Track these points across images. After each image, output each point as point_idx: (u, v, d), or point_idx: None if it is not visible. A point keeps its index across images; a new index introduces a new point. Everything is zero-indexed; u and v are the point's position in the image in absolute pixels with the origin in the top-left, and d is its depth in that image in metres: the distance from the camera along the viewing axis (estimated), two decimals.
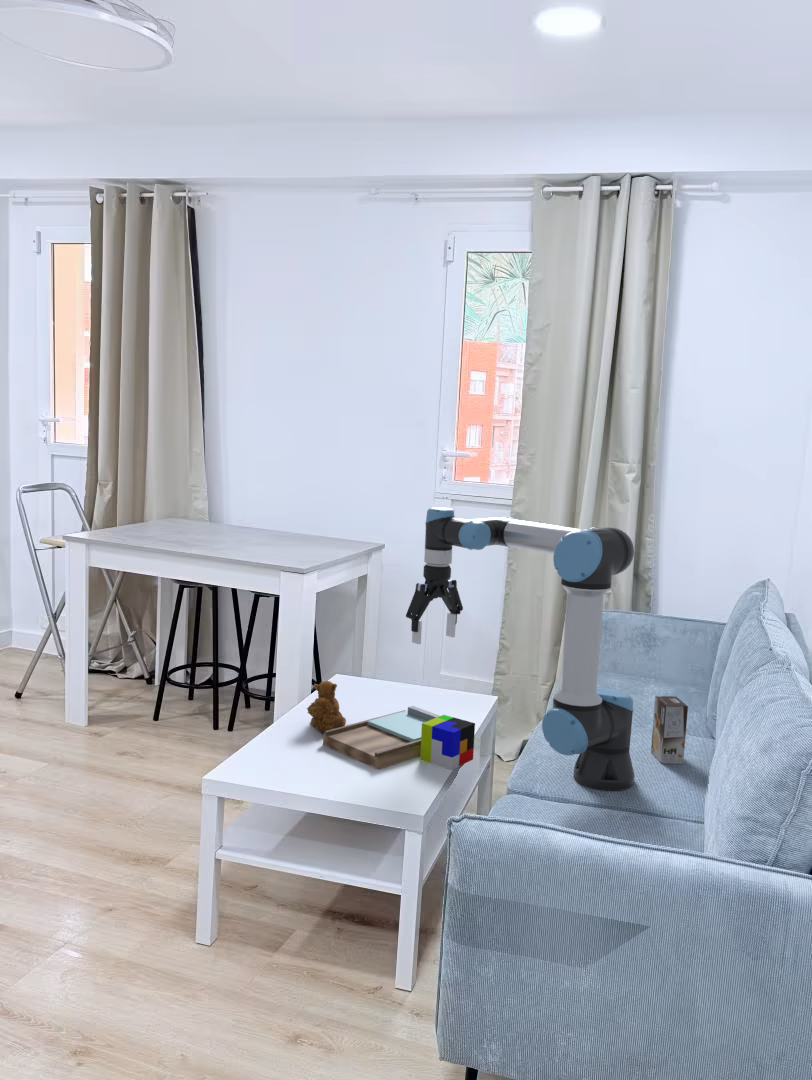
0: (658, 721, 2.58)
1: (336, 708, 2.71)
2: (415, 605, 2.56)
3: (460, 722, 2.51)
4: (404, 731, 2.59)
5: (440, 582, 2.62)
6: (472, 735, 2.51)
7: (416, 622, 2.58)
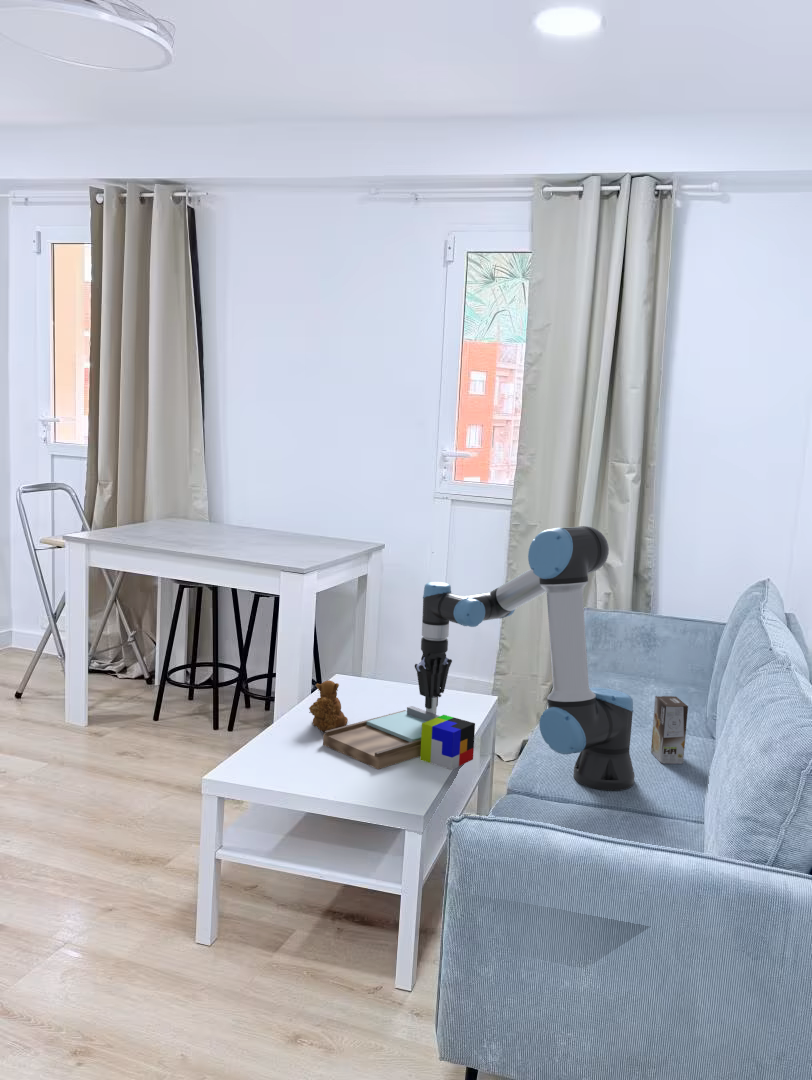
0: (658, 720, 2.58)
1: (338, 708, 2.71)
2: (423, 685, 2.66)
3: (460, 722, 2.51)
4: (403, 731, 2.59)
5: (437, 655, 2.68)
6: (472, 735, 2.51)
7: (430, 699, 2.68)
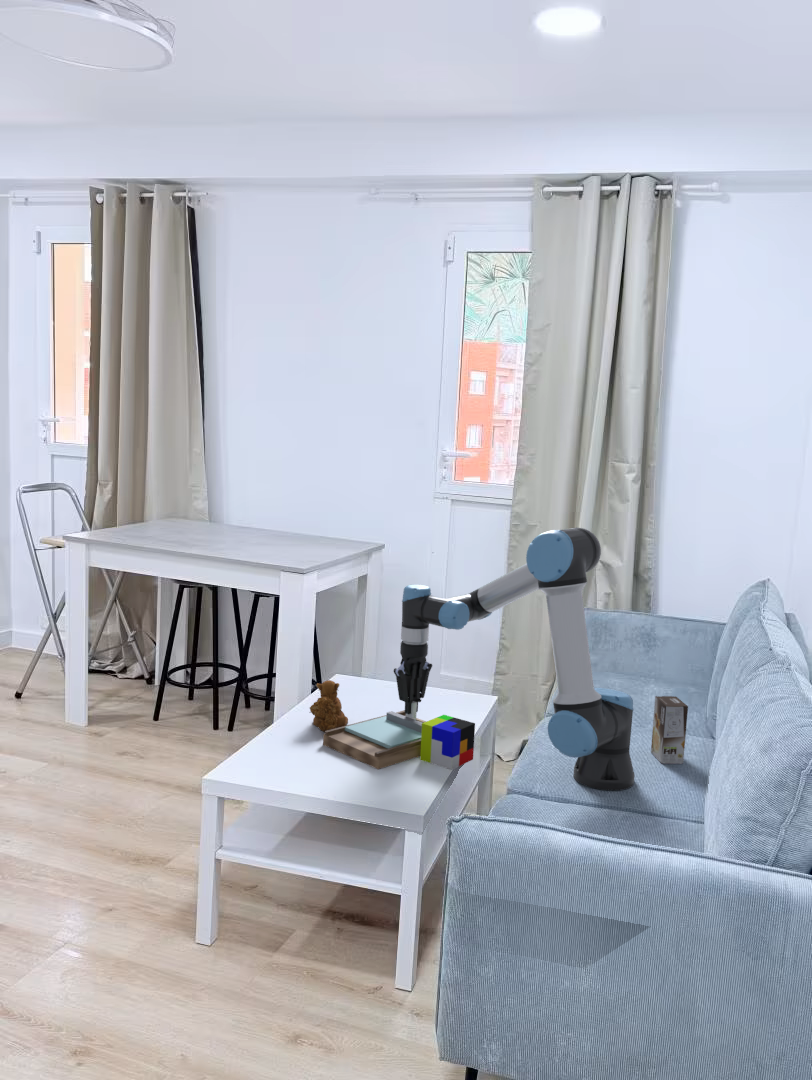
0: (658, 721, 2.58)
1: (338, 707, 2.71)
2: (402, 690, 2.60)
3: (460, 722, 2.51)
4: (381, 737, 2.53)
5: (417, 659, 2.62)
6: (472, 735, 2.51)
7: (409, 704, 2.63)
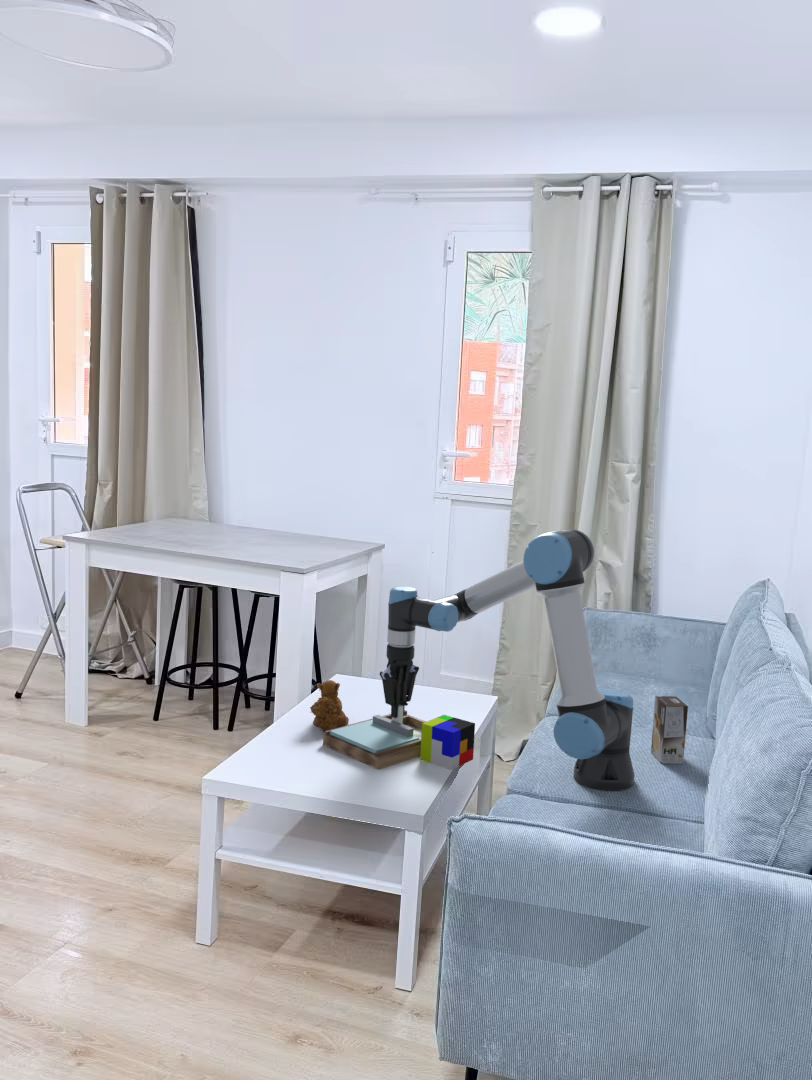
0: (658, 721, 2.58)
1: (339, 707, 2.72)
2: (389, 694, 2.56)
3: (460, 722, 2.51)
4: (367, 742, 2.50)
5: (403, 662, 2.58)
6: (472, 735, 2.51)
7: (396, 708, 2.59)
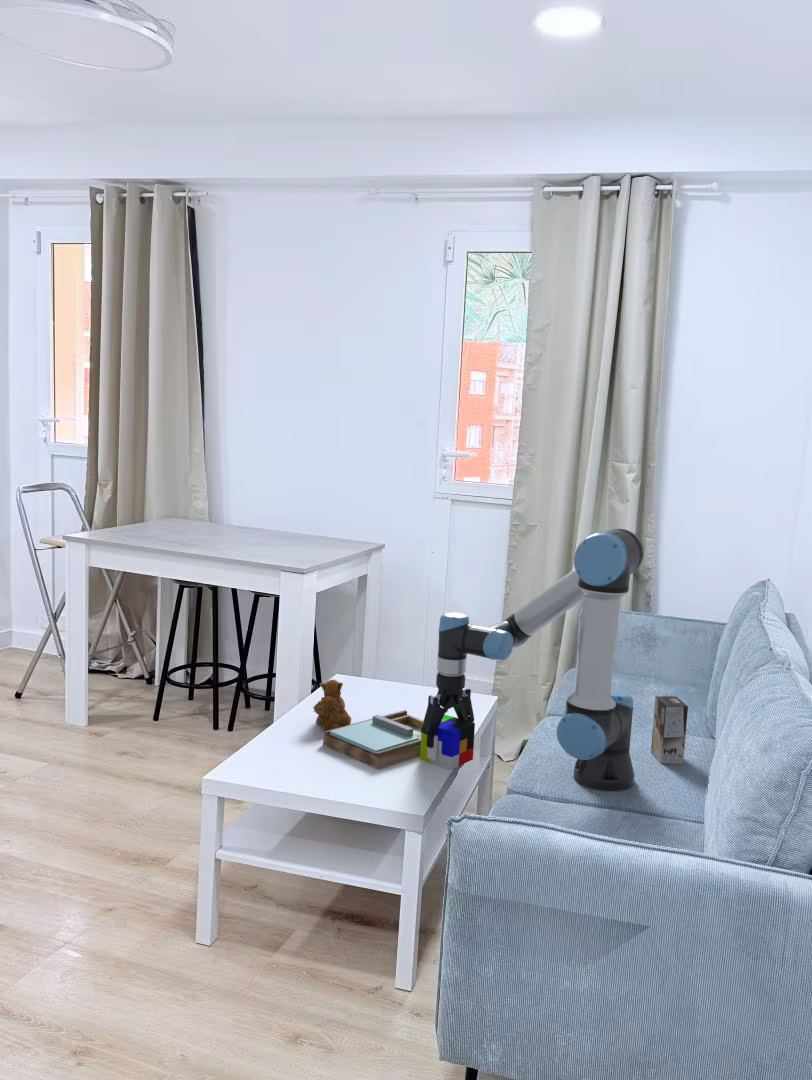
0: (658, 720, 2.58)
1: (342, 707, 2.72)
2: (429, 720, 2.44)
3: (460, 722, 2.51)
4: (367, 742, 2.50)
5: (454, 691, 2.48)
6: (472, 735, 2.51)
7: (432, 738, 2.45)
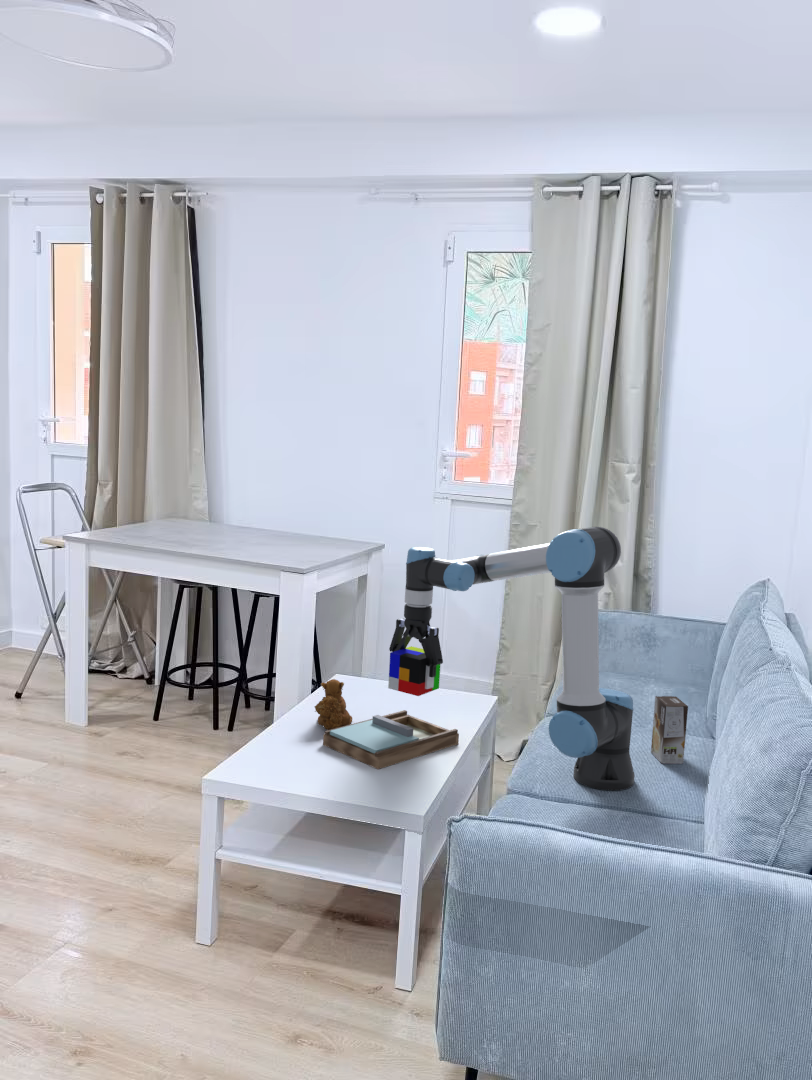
0: (658, 721, 2.58)
1: (343, 706, 2.73)
2: None
3: (418, 656, 2.58)
4: (367, 742, 2.50)
5: (415, 622, 2.59)
6: (416, 670, 2.55)
7: None
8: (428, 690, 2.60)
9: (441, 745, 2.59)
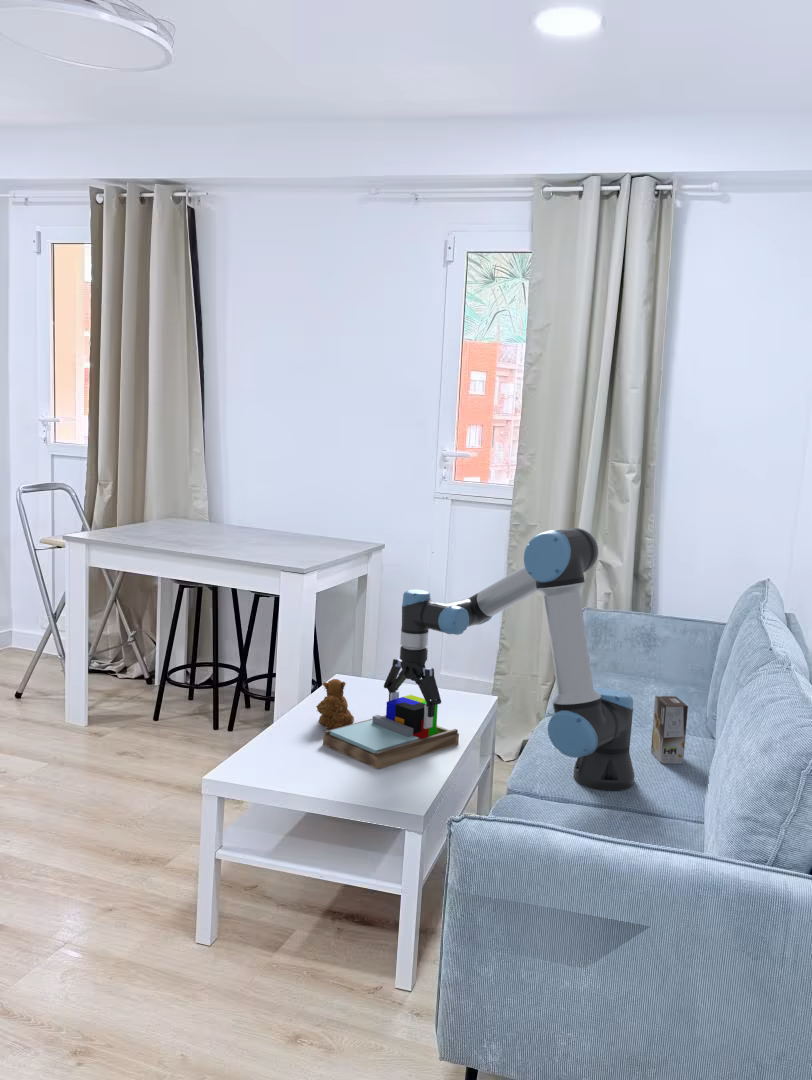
0: (658, 720, 2.58)
1: (345, 706, 2.73)
2: None
3: (414, 706, 2.61)
4: (367, 742, 2.50)
5: (411, 664, 2.62)
6: (411, 720, 2.58)
7: None
8: None
9: (441, 745, 2.59)
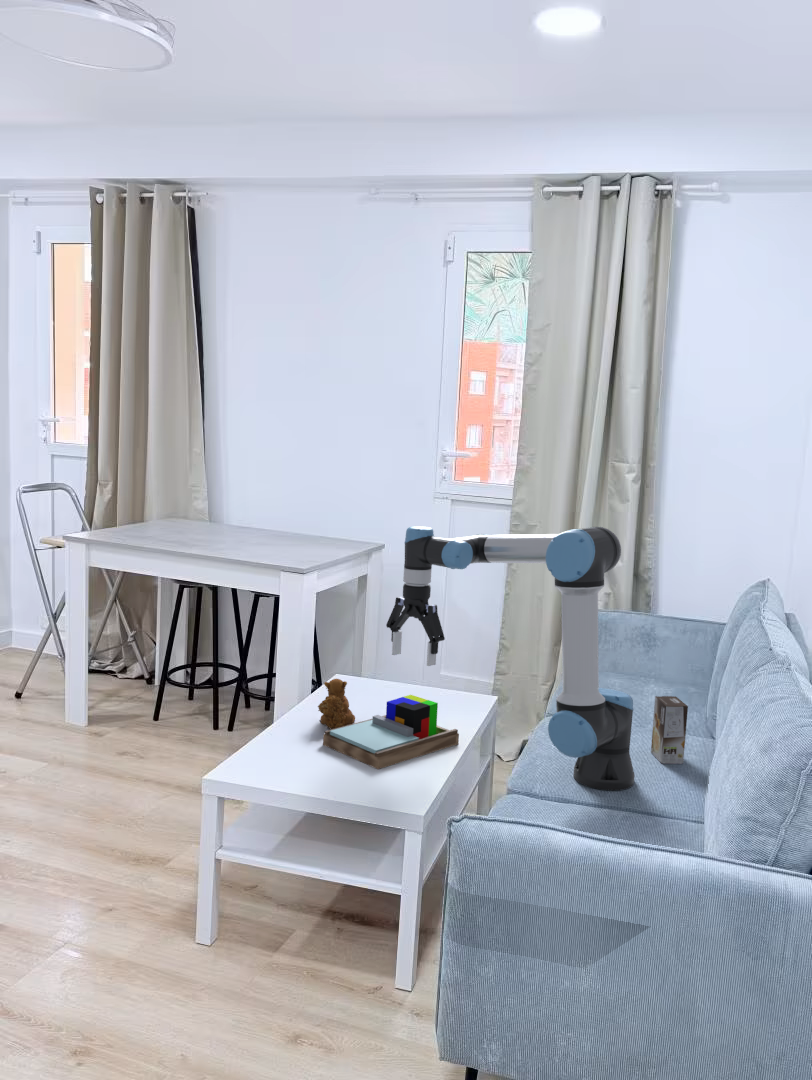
0: (658, 720, 2.58)
1: (346, 705, 2.73)
2: None
3: (414, 706, 2.61)
4: (367, 742, 2.50)
5: (414, 602, 2.59)
6: (411, 720, 2.58)
7: (392, 632, 2.67)
8: None
9: (441, 745, 2.59)
